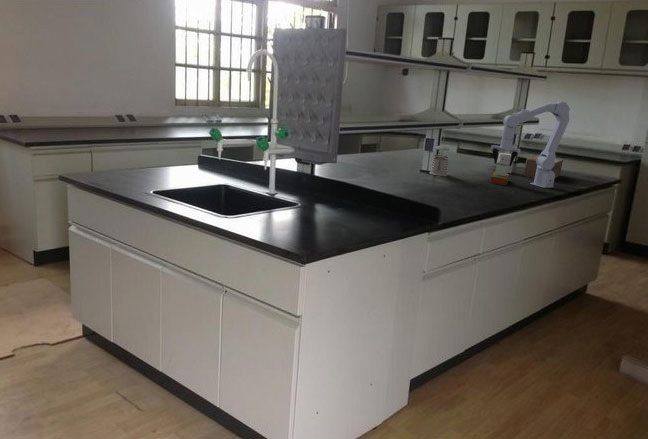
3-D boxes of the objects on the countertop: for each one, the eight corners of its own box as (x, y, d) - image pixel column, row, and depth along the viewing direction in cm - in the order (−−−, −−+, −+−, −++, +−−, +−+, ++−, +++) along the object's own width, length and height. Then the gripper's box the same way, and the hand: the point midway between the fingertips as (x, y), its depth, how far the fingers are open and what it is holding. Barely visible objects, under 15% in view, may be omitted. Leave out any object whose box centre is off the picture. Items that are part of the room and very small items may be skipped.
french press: (448, 173, 312) (455, 127, 305) (446, 177, 301) (454, 129, 295) (430, 171, 314) (437, 125, 308) (427, 174, 304) (435, 127, 297)
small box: (509, 171, 340) (512, 154, 337) (511, 173, 334) (514, 155, 332) (495, 170, 340) (498, 152, 337) (497, 171, 335) (500, 153, 332)
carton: (507, 181, 310) (509, 173, 309) (506, 186, 295) (507, 178, 294) (492, 179, 312) (493, 171, 311) (489, 184, 298) (491, 175, 297)
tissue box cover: (549, 181, 323) (553, 163, 320) (523, 176, 330) (527, 159, 327) (559, 176, 344) (563, 159, 341) (535, 171, 351) (538, 155, 348)
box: (506, 174, 304) (508, 163, 302) (505, 176, 299) (507, 164, 298) (496, 173, 306) (498, 161, 305) (494, 174, 302) (496, 163, 300)
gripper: (523, 140, 298) (518, 166, 302) (494, 136, 304) (490, 161, 308) (520, 141, 292) (515, 167, 295) (492, 137, 298) (487, 163, 302)
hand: (502, 164), depth 301 cm, fingers open, 7 cm apart
